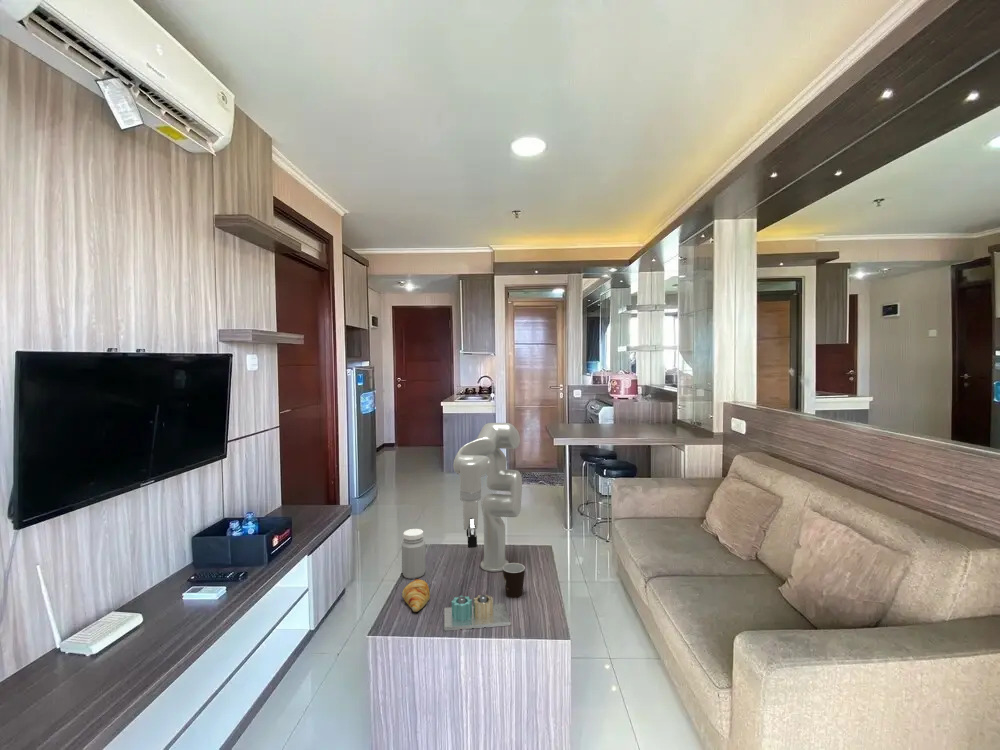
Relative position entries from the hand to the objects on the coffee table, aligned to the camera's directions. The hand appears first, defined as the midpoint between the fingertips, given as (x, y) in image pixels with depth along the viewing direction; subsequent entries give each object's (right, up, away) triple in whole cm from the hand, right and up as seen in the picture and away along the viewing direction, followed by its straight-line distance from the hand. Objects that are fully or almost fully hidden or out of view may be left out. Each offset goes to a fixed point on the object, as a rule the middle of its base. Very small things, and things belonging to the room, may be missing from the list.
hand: (471, 541), depth 154 cm
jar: (-26, -25, +27) cm, 45 cm away
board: (+2, -24, -7) cm, 25 cm away
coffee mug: (+16, -24, +11) cm, 31 cm away
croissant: (-21, -25, +6) cm, 33 cm away
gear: (-3, -23, -7) cm, 24 cm away
